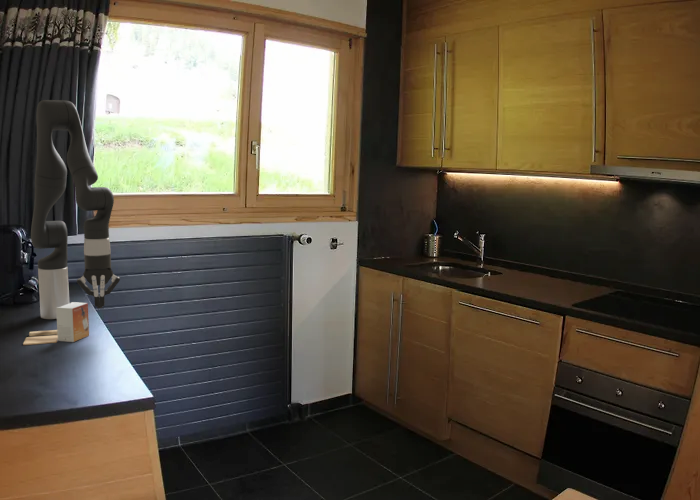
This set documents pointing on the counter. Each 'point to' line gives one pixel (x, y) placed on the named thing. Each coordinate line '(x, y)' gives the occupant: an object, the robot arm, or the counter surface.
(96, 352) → the counter surface
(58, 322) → the small box
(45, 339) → the plate
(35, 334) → the turner
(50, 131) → the robot arm
